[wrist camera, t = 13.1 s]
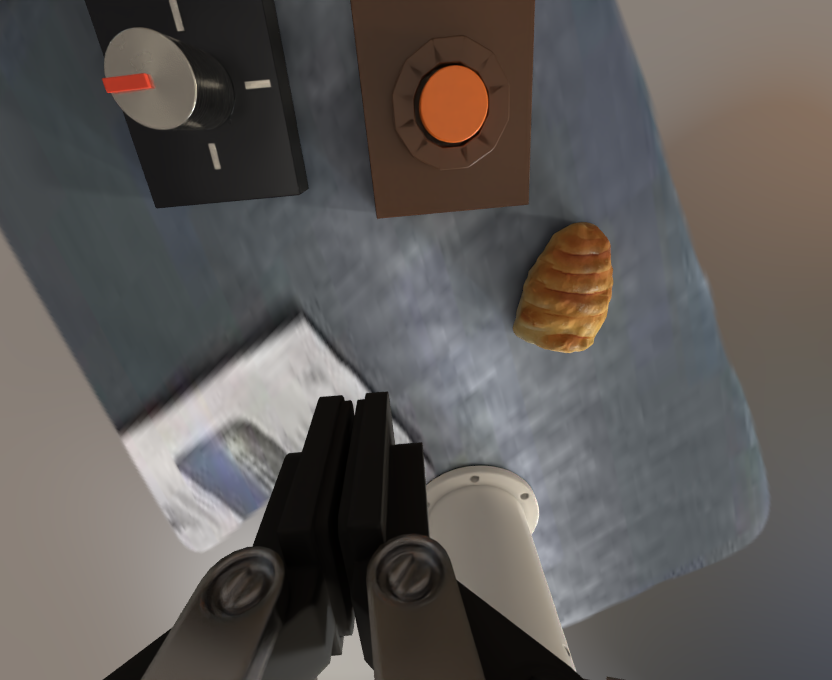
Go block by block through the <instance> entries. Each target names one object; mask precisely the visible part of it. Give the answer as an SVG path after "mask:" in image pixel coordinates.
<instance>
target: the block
mask: <svg viewBox="0 0 832 680" xmlns="http://www.w3.org/2000/svg"><path fill="white" fill-rule="evenodd" d="M350 2H351V11H352V19H353V27H354V35H355V43H356V52H357V60H358V68H359V76H360V84H361V92H362V101H363V109H364V117H365V125H366V133H367V142H368V150H369V158H370V166H371V174H372V182H373V191H374V199H375V207H376V215H377V219H379V218H389V217H400V216H411V215H421V214H432V213H443V212H454V211H464V210H475V209H486V208H496V207H507V206H518V205H528V204H529V172H530V140H531V108H532V75H533V43H534V11H535V0H350ZM451 65H459V66H464V67H467V68H469V69H471V70H472V71H474V72H475V73H476V74H477V75H478V76H479V77H480V78H481V80H482V82H483V83H484V86H485V88H486V91H487V96H488V109H487V114H486V117H485V120H484V122H483V124H482V126H481V127H480V128H479V130H478V131H477V132H476V133H475V134H474V135H473V136H471V137H470V138H468V139H466V140H464V141H461V142H456V143H450V142H444V141H441V140H438V139H436V138H435V137H433V136H432V135H431V134H429V132H428V131H427V130H426V129H425V127H424V125H423V124H422V121H421V118H420V114H419V100H420V95H421V92H422V90H423V88H424V86H425V84H426V83H427V81H428V80H429V78H430V77H431V76H432V75H433V74H434V73H435V72H437V71H438V70H440V69H442V68H444V67H447V66H451Z"/></svg>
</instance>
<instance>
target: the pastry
mask: <svg viewBox="0 0 832 680" xmlns="http://www.w3.org/2000/svg"><path fill="white" fill-rule="evenodd" d="M610 247H611V246H610V242H609V240H608V239H607V237H606V236H605V235H604V234H603V233H602V231H601V230H600V229H599V228H598V227H597V226H596V225H594V224H591V223H587V222H578V223H573V224H571V225H569V226H567V227H565V228H563V229H562V230H560V231H558V232H556V233H555V234H553V236H552V237H551V240H550V242H549V243H548V244H547V245H546V247H545V250H544V251H543V253H542V254H540V256H539V257H538V258H537V261H536V263H535V265H534V266H533V267H532V268H531V269H530V270H529V272H528V277H527V279H526V281H525V283H524V286H523V292H522V296H521V299H520V303H519V305H518V308H517V312H516V319H515V322H514V325H513V331H514V333H515V335H516V336H518V337H519V338H521V339H523V340H525V341H526V342H528V343H533V344H536V345H537V346H539V347H541V348H544V349H548V350H553V351H558V352H565V353H571V352H574V351H577V352H579V351H583V350H585V349H587V348H588V347H589V346H591V345H592V344H593V342H594V337H595V335H596V334H597V332H598V330H599V329H600V328H601V325H602V324H603V322H604V320H605V318H606V317H607V310H608V304H609V301H610V299H611V294H612V285H613V279H612V272H613V268H612V266H611V260H610V257H611V254H610Z"/></svg>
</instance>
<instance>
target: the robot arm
mask: <svg viewBox="0 0 832 680" xmlns="http://www.w3.org/2000/svg"><path fill="white" fill-rule="evenodd" d="M538 517H539V507H538V503H537V500H536V497H535V495H534V493H533V491H532V489H531V487H530V486H529V485H528V484H527V483H526V481H525V480H523V479H522V478H521V477H519V476H518V475H516V474H515V473H512V472H510V471H508V470H506V469H502V468H498V467H493V466H483V465H482V466H468V467H463V468H458V469H455V470H452V471H449V472H446V473H444V474H442V475H441V476H439V477H437V478H435V479H434V480H432V481H431V482H430V483H429V484H427V485H426V479H425V467H424V456H423V445H422V442H421V443H408V444H396V445H395V441H394V432H393V424H392V416H391V408H390V399H389V393H388V392H376V393H366V395H365V399H362V400H357V405H356V411H355V415H354V409H353V404H352V401H351V400H349V401H345V400H344V397H343V396H342V395H339V396H327V397H320V398H319V400H318V403H317V406H316V409H315V412H314V415H313V418H312V422H311V425H310V428H309V431H308V434H307V437H306V440H305V444H304V447H303V450H302V452H298V453H289V454H287V455H286V457H285V459H284V461H283V464H282V467H281V469H280V472H279V475H278V478H277V480H276V483H275V486H274V489H273V491H272V494H271V497H270V500H269V502H268V505H267V508H266V511H265V513H264V516H263V519H262V522H261V524H260V527H259V530H258V533H257V535H256V538H255V541H254V544H253V547H246V548H243V549H240V550H237V551H234V552H232V553H231V554H229V555H227V556H225V557H224V558H222V559H221V560H219V561H218V562H217V563H216V564H215V565H214V566H213V567H212V568H210V569H209V571H208V572H207V574H206V575H205V576H204V577H203V578H202V580H201V581H200V583H199V584H198V586H197V588H196V589H195V591H194V593H193V594H192V596H191V598H190V599H189V601H188V603H187V604H186V606H185V608H184V609H183V611H182V613H181V614H180V616H179V618H178V619H177V621H176V623H175V624H174V626H173V627H172V628H171V629H170V630H168V631H167V632H166V633H164V634H163V635H162V636H160V637H159V638H158V639H156V640H155V641H154V642H152V643H151V644H150V645H148V646H147V647H146V648H144V649H143V650H142V651H140V652H139V653H138V654H137V655H135V656H134V657H132V658H131V659H130V660H128V661H127V662H126V663H125V664H123V665H122V666H121V667H119V668H118V669H116V670H115V671H114V672H112V673H111V674H110V675H109V676H107V677H106V678H105V679H103V680H317V676H318V675H319V674H320V673H321V672H322V671H323V670H324V669H325V668H326V667H327V665H328V664H329V663H330V659H331V656H335V655H341V654H342V647H343V638H344V636H348V635H352V634H353V629H354V620H355V618H356V623H357V628H358V632H359V636H360V641H361V645H362V650H363V655H364V660H365V661H366V662H367V663H368V665H369V666H370V667H371V668H372V669H373V670H374V678H375V680H588V679H583V678H582V677H580V675H578V674H577V672H576V669H575V666H574V664H573V661H572V657H571V654H570V651H569V648H568V645H567V642H566V639H565V636H564V633H563V630H562V627H561V624H560V621H559V618H558V615H557V612H556V609H555V606H554V603H553V599H552V596H551V593H550V590H549V587H548V584H547V581H546V578H545V575H544V572H543V569H542V566H541V563H540V560H539V557H538V554H537V551H536V548H535V545H534V542H533V539H532V536H531V534H532V533H533V531H534V529H535V527H536V525H537V523H538ZM606 680H624V679H618V678H612V677H607V678H606Z"/></svg>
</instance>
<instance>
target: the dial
mask: <svg viewBox="0 0 832 680" xmlns="http://www.w3.org/2000/svg"><path fill="white" fill-rule="evenodd" d="M104 73H105V78H102V81H103V83H104V86H105V89H106V91H107V93H111V94H112V96H113V98H114V99H115V101H116V102H117V104H118V105H119V106H120V108H121V109H122V110H123V111H124V112H125V113H126V114H127V115H128V116H129V117H131V118H132V119H133V120H135V121H136V122H138V123H139V124H141V125H143V126H146V127H148V128H152V129H156V130H211V129H215V128H217V127H219V126H221V125H222V124H223V123H224V122H225V121H226V120H227V119H228V118H229V116H230V114H231V112H232V109H233V104H234V91H233V86H232V83H231V80H230V78H229V75H228V73H227V72H226V70H225V69H224V67H223V66H222V64H221V63H220V62H219V61H218V60H217V59H216V58H215V57H213V56H212V55H211V54H209V53H207V52H206V51H204V50H201V49H199V48H196V47H194V46H192V45H189V44H187V43H184V42H182V41H179V40H177V39H175V38H172V37H170V36H167V35H165V34H162V33H160V32H158V31H155V30H153V29H149V28H143V27H134V28H129V29H126V30H124V31H122V32H120V33H119V34H117V35H116V36H115V37H114V38H113V39H112V41H111V42H110V44H109V45H108V47H107V50H106V53H105V58H104Z"/></svg>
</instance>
